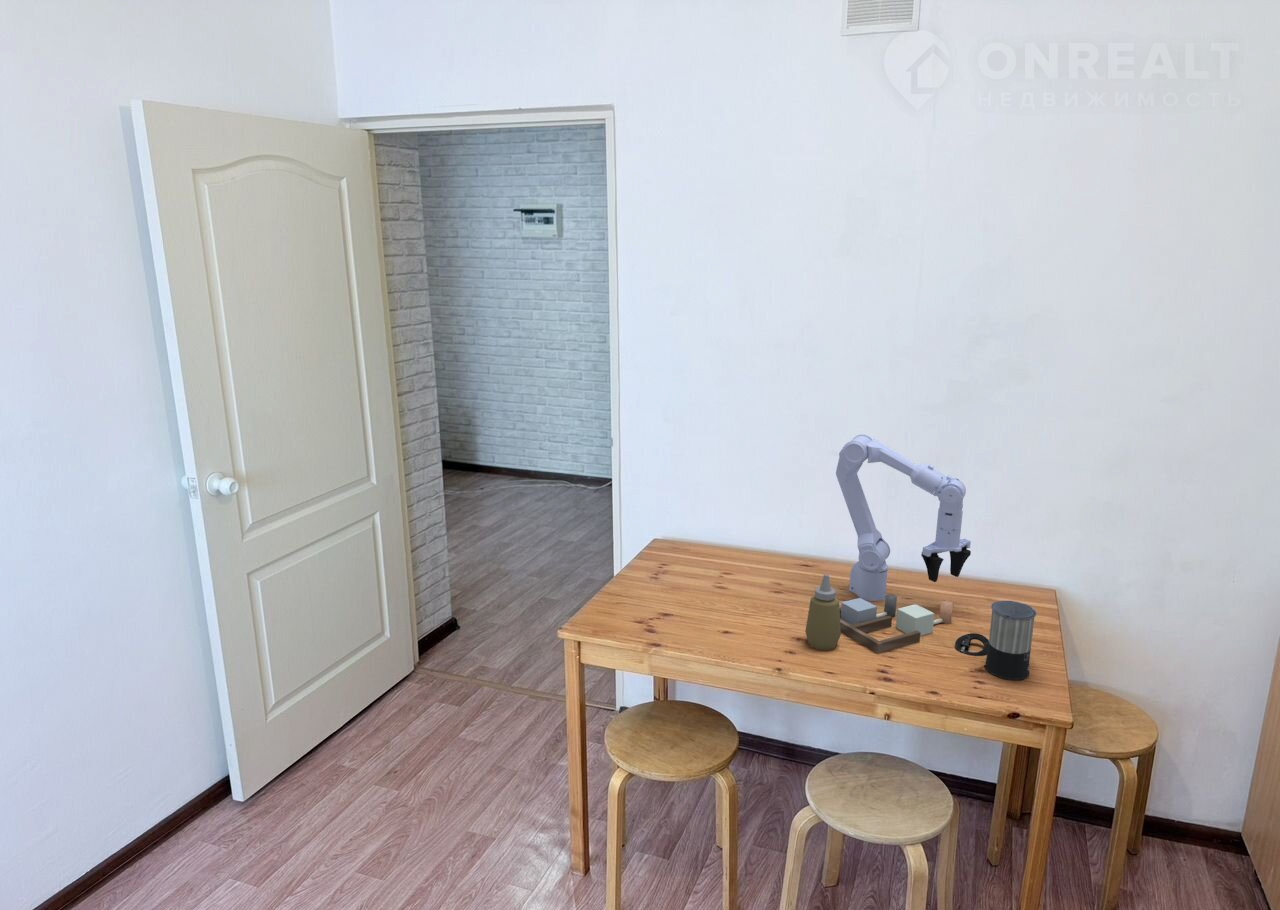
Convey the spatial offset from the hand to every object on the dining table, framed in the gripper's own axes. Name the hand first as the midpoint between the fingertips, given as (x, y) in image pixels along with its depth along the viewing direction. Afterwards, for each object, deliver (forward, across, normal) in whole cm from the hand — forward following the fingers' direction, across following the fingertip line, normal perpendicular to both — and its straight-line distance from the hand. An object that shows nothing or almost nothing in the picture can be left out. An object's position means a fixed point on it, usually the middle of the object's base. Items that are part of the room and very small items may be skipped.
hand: (943, 578), depth 209 cm
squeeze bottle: (+10, -40, -2) cm, 41 cm away
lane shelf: (+9, -18, -2) cm, 20 cm away
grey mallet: (+8, -21, +3) cm, 22 cm away
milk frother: (+10, -10, -25) cm, 29 cm away
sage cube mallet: (+8, -11, -6) cm, 15 cm away
